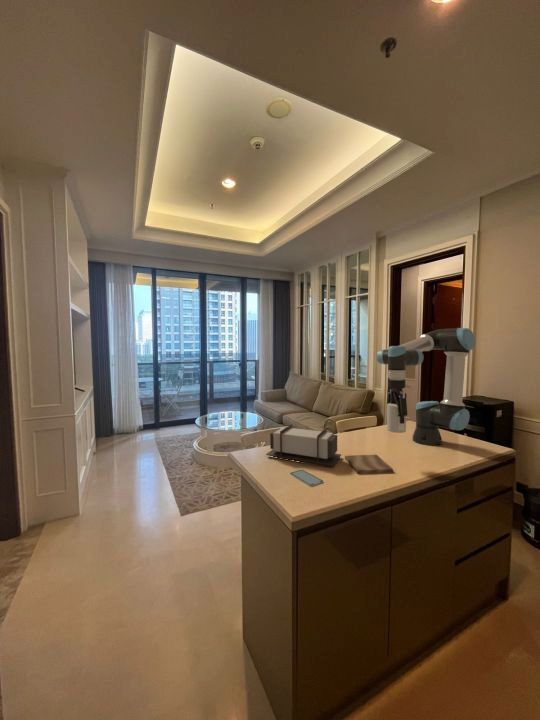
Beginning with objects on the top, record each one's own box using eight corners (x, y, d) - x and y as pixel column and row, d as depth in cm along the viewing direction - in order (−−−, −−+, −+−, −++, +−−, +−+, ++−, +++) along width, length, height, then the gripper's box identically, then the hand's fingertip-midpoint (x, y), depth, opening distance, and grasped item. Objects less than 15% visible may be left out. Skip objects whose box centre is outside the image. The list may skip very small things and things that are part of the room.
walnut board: (376, 457, 152) (376, 454, 152) (393, 472, 134) (393, 469, 134) (344, 458, 151) (344, 455, 151) (357, 473, 133) (357, 470, 133)
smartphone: (302, 469, 138) (324, 481, 125) (302, 471, 138) (324, 483, 125) (288, 473, 134) (310, 485, 121) (288, 474, 134) (310, 487, 121)
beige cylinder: (406, 433, 137) (406, 407, 137) (387, 431, 140) (387, 406, 140) (405, 428, 145) (405, 403, 144) (386, 427, 148) (386, 402, 147)
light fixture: (333, 437, 138) (265, 429, 153) (333, 469, 139) (265, 458, 154) (341, 429, 152) (278, 422, 167) (341, 458, 152) (278, 448, 168)
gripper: (379, 377, 152) (379, 422, 153) (399, 381, 131) (399, 434, 132) (393, 376, 152) (393, 421, 153) (416, 381, 131) (416, 433, 132)
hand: (396, 427), depth 142 cm, fingers closed on beige cylinder, 8 cm apart
